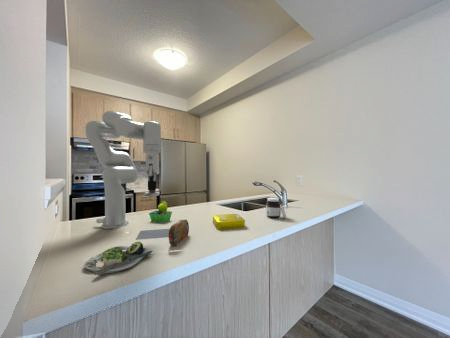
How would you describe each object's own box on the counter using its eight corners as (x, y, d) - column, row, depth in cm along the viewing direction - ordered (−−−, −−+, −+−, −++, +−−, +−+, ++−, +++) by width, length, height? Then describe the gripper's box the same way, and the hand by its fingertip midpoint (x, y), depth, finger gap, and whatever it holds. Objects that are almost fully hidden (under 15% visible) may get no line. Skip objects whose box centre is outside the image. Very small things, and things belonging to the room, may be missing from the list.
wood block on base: (144, 196, 87) (144, 175, 87) (146, 194, 92) (146, 174, 92) (158, 195, 89) (158, 175, 88) (159, 194, 93) (159, 174, 93)
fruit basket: (147, 222, 112) (147, 202, 112) (157, 218, 120) (157, 199, 120) (165, 224, 109) (165, 203, 108) (174, 219, 117) (174, 200, 117)
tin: (174, 249, 75) (174, 227, 75) (167, 248, 76) (167, 227, 76) (189, 236, 90) (189, 217, 90) (183, 235, 90) (183, 217, 90)
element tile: (246, 228, 102) (246, 219, 102) (217, 230, 98) (217, 221, 98) (237, 220, 116) (237, 212, 116) (212, 222, 113) (212, 214, 113)
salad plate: (121, 283, 54) (121, 266, 54) (65, 277, 57) (65, 261, 57) (157, 252, 73) (157, 240, 73) (114, 249, 76) (114, 237, 76)
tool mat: (135, 241, 83) (135, 239, 83) (140, 231, 95) (140, 230, 95) (174, 237, 87) (174, 236, 87) (175, 229, 99) (175, 228, 99)
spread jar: (264, 215, 128) (264, 197, 128) (281, 214, 129) (281, 197, 129) (271, 220, 116) (271, 200, 116) (289, 219, 117) (289, 200, 117)
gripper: (159, 148, 83) (159, 191, 83) (162, 151, 99) (162, 187, 99) (140, 147, 81) (140, 192, 82) (146, 150, 97) (146, 188, 97)
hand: (152, 189), depth 90 cm, fingers closed on wood block on base, 2 cm apart
